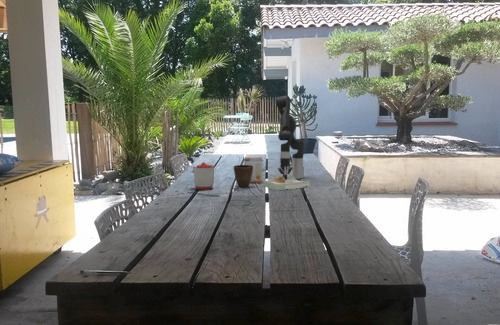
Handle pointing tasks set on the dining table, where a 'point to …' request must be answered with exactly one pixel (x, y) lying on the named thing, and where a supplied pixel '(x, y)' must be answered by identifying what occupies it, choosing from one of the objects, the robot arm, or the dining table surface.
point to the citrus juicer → (203, 176)
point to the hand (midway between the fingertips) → (285, 179)
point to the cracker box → (255, 168)
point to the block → (280, 179)
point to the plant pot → (243, 175)
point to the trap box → (286, 184)
